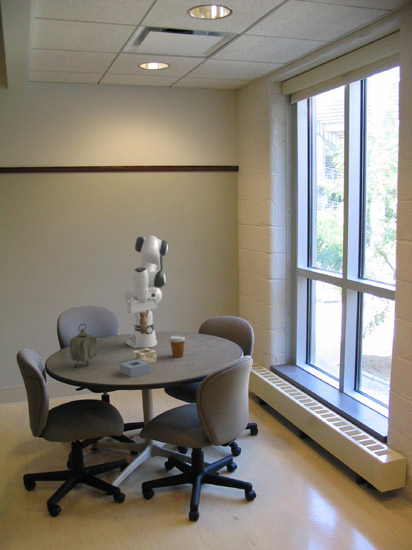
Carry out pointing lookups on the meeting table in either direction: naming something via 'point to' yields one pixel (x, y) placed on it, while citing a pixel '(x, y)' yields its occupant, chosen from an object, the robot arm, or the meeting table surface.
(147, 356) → the mount
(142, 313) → the pin
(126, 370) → the socket
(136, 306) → the robot arm
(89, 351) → the tabletop clock
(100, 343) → the meeting table surface
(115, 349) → the meeting table surface
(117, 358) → the meeting table surface
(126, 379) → the meeting table surface
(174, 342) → the disposable coffee cup
